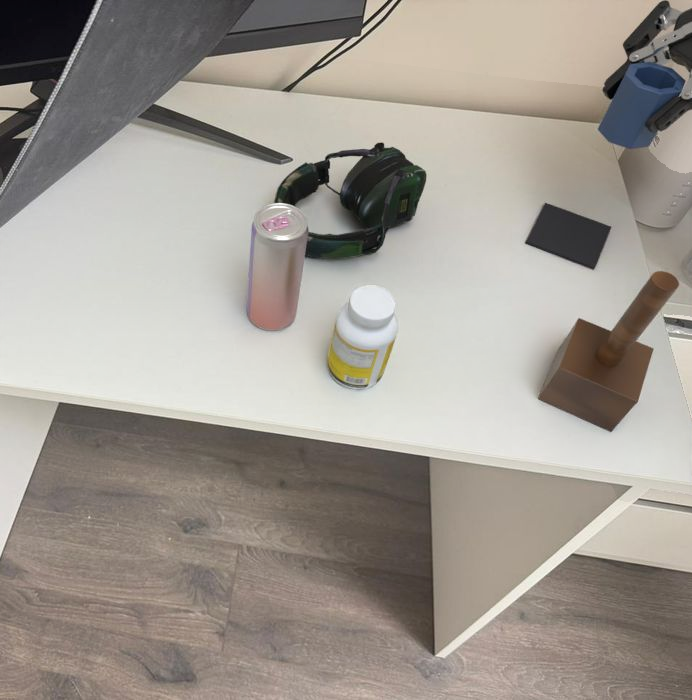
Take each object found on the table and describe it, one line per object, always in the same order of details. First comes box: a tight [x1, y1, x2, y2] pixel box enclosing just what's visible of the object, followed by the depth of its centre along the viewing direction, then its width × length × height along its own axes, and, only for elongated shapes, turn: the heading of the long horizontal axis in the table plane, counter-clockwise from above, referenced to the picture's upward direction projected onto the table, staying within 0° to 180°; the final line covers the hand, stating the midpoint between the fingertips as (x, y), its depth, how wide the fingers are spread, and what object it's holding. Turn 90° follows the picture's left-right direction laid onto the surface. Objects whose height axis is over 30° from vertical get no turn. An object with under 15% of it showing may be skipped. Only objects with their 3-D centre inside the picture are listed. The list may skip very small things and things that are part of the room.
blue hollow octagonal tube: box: [597, 62, 687, 150], centre depth 79 cm, size 6×6×7 cm
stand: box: [537, 270, 680, 432], centre depth 72 cm, size 8×8×18 cm
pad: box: [524, 202, 612, 270], centre depth 94 cm, size 9×9×1 cm
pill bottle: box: [326, 284, 399, 390], centre depth 76 cm, size 6×6×12 cm
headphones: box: [273, 142, 427, 260], centre depth 92 cm, size 13×13×20 cm
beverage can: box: [246, 202, 310, 332], centre depth 79 cm, size 6×6×15 cm
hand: (627, 111), depth 78 cm, fingers closed on blue hollow octagonal tube, 6 cm apart
